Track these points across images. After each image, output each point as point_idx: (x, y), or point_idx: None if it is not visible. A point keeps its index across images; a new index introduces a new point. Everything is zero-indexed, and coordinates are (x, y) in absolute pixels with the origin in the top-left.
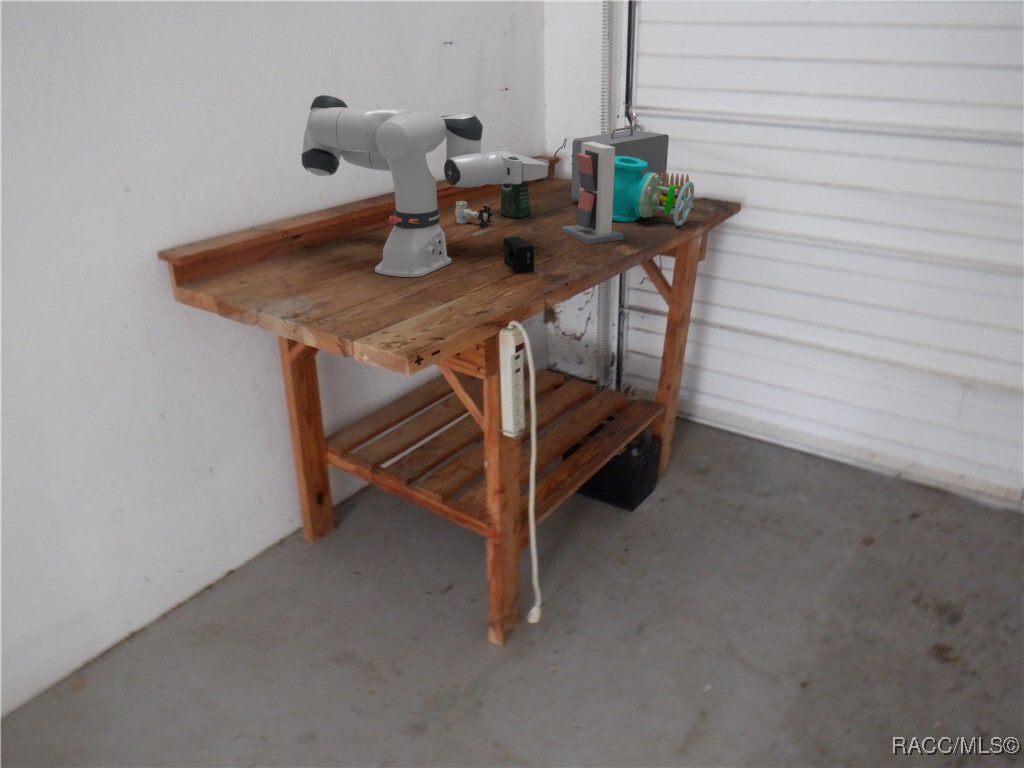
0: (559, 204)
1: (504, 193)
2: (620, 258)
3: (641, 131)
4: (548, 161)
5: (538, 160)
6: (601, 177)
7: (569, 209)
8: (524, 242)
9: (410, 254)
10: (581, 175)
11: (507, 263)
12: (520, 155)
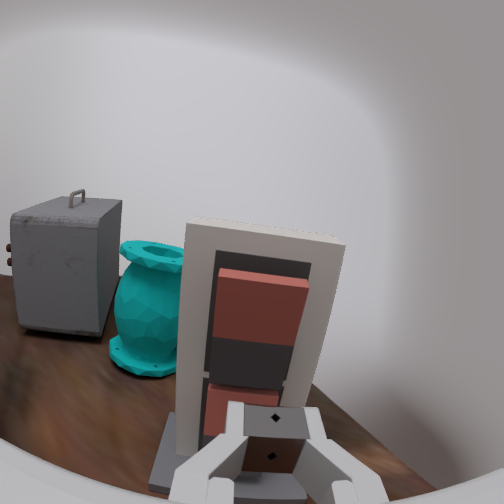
0: (4, 343)
1: None
2: (426, 486)
3: (80, 197)
4: (315, 410)
5: (243, 447)
6: (319, 340)
7: (35, 358)
8: None
9: None
10: (229, 349)
11: None
12: (40, 499)
